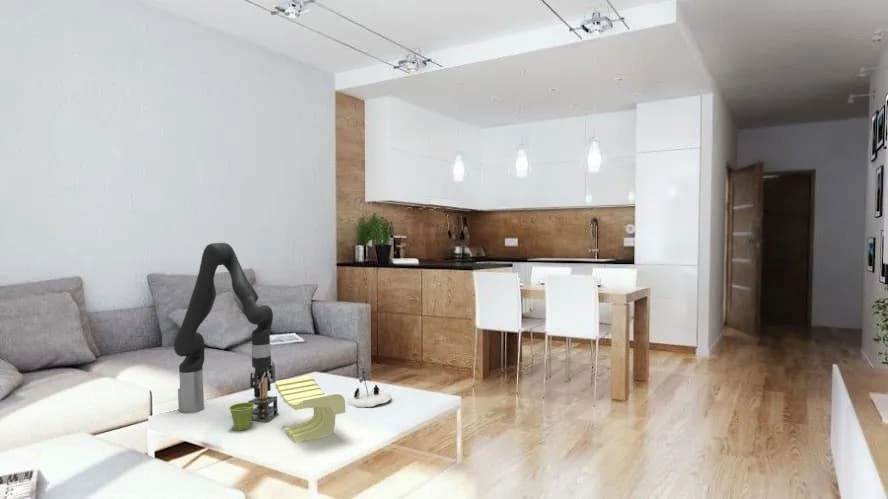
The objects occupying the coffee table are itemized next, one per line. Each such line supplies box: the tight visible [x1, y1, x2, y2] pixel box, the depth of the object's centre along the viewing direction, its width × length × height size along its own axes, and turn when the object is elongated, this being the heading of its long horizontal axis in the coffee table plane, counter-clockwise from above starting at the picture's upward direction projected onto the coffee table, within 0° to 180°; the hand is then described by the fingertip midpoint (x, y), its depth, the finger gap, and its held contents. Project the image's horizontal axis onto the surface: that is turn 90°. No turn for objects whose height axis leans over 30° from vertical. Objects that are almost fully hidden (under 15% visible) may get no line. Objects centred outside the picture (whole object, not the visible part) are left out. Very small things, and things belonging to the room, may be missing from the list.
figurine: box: [346, 366, 392, 408], centre depth 258 cm, size 20×18×16 cm
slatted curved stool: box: [275, 375, 346, 443], centre depth 221 cm, size 30×16×18 cm, turn 34°
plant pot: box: [228, 402, 255, 431], centre depth 227 cm, size 9×9×9 cm
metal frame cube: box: [247, 395, 279, 424], centre depth 238 cm, size 9×9×8 cm
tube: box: [259, 376, 269, 417], centre depth 237 cm, size 4×4×16 cm
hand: (262, 393), depth 237 cm, fingers open, 8 cm apart
